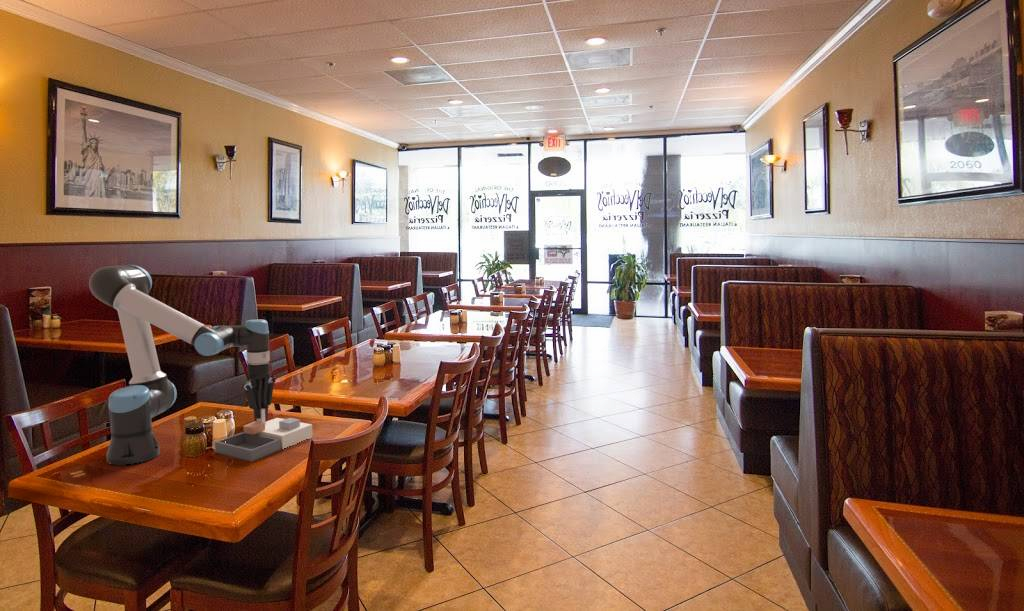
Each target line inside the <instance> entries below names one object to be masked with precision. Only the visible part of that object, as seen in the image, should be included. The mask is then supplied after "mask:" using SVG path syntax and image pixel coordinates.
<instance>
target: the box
mask: <svg viewBox="0 0 1024 611" xmlns="http://www.w3.org/2000/svg"><path fill="white" fill-rule="evenodd" d="M225 438H226V439H225ZM225 438H223V439H224V440H222V439H220V440H216V441H214V453H215V454H216V453H217V454H218V455H222V456H224V457H229V456H230V458H232V459H233V458H234V459H237V460H240V461H245V460H246V462H249V461H250V463H254V462H256V461H258V459H259V460H261V459H263V458H266V457H268V456H271V455H273V454H275V453H274V452H276V453H278V452H280V451H279V450H281V451H282V449H280V439H275V438H271V437H266V436H262V435H257V434H254V435H253V434H248V433H244V431H243V432H240V433H236V434H234V435H231V436H228V437H225ZM225 441H226V443H225ZM277 451H278V452H277ZM272 453H273V454H272ZM270 454H271V455H270ZM265 456H266V457H265ZM260 458H261V459H260ZM255 460H256V461H255ZM253 461H254V462H253Z"/></svg>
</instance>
